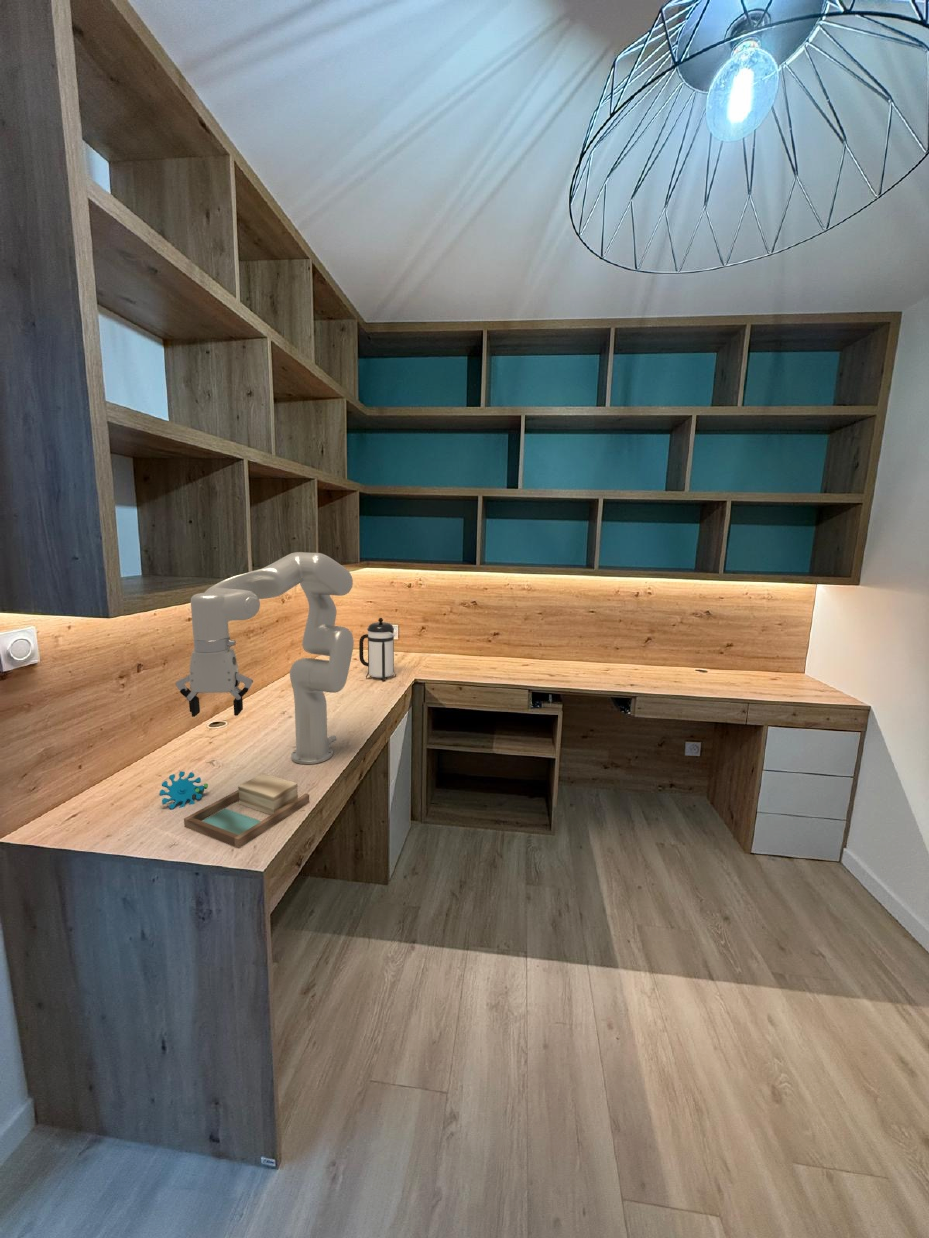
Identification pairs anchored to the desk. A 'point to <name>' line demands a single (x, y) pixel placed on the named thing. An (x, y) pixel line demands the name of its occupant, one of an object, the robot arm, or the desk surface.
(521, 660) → the desk surface
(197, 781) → the blue spiky virus toy
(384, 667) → the coffee press
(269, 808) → the cream hardcover book
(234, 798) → the bay
